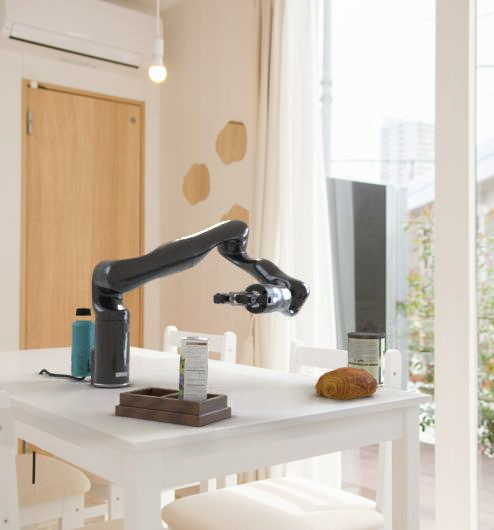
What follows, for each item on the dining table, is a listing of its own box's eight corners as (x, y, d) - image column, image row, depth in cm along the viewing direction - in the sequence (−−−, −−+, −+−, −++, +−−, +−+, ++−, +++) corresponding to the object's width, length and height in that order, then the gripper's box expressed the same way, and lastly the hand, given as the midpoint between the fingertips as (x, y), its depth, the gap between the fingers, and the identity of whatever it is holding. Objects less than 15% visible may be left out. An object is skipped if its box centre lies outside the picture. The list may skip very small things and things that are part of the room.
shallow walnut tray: (114, 415, 145) (115, 393, 145) (150, 406, 155) (150, 385, 155) (199, 426, 135) (199, 403, 135) (231, 416, 145) (231, 394, 145)
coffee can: (342, 381, 196) (343, 331, 196) (378, 381, 198) (378, 331, 198) (352, 387, 186) (353, 334, 186) (389, 387, 187) (390, 334, 188)
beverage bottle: (88, 382, 188) (89, 308, 188) (65, 381, 189) (67, 308, 189) (98, 379, 194) (100, 307, 194) (76, 378, 195) (77, 307, 196)
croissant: (386, 405, 172) (390, 373, 173) (341, 402, 163) (346, 368, 163) (345, 395, 184) (349, 365, 184) (301, 392, 174) (305, 360, 175)
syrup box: (178, 405, 145) (180, 336, 146) (207, 405, 146) (208, 336, 146) (178, 411, 140) (179, 338, 140) (207, 411, 140) (208, 338, 140)
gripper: (288, 314, 173) (256, 316, 159) (239, 312, 180) (204, 314, 166) (289, 284, 173) (257, 283, 159) (239, 283, 180) (205, 282, 166)
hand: (230, 299), depth 162 cm, fingers open, 8 cm apart
